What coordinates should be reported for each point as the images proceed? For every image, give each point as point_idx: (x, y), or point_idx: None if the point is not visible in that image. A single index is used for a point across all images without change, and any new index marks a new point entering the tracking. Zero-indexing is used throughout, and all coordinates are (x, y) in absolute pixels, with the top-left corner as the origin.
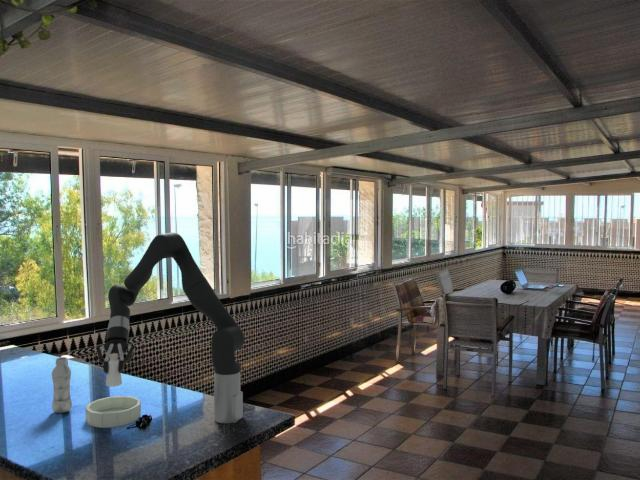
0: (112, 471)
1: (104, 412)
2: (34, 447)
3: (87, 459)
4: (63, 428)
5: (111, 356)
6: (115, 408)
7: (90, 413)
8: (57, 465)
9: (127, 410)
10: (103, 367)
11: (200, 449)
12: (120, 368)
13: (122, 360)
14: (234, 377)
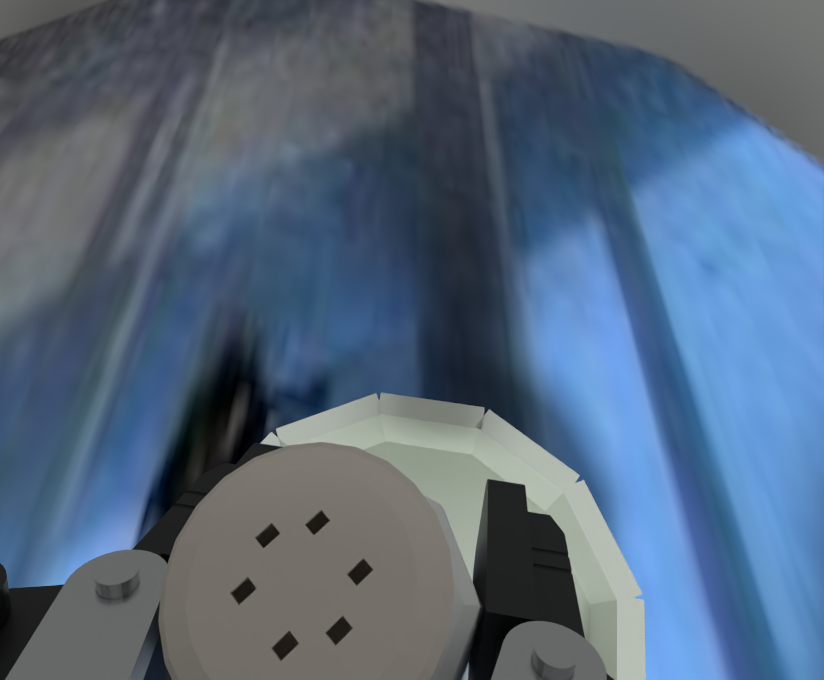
0: (418, 14)
1: None
2: (808, 291)
3: (516, 110)
4: (741, 534)
5: (395, 473)
6: None
7: (580, 482)
8: (628, 97)
9: (300, 421)
10: (568, 560)
11: (76, 68)
12: (247, 452)
13: (127, 555)
14: None
